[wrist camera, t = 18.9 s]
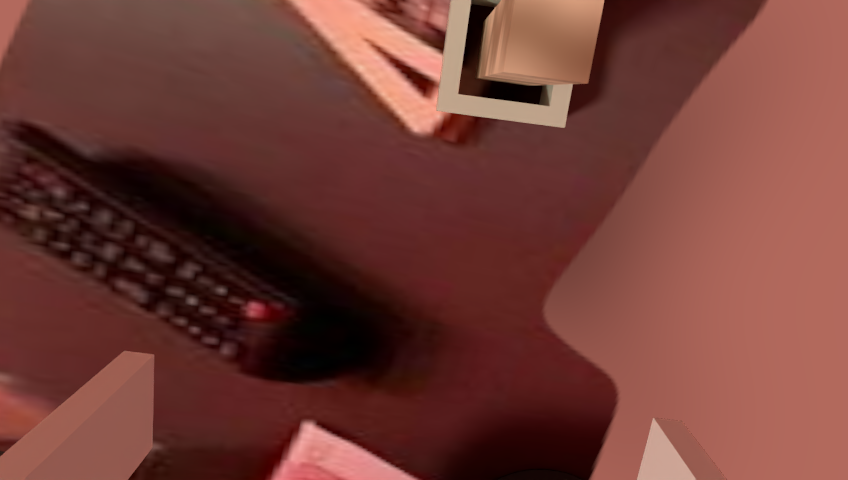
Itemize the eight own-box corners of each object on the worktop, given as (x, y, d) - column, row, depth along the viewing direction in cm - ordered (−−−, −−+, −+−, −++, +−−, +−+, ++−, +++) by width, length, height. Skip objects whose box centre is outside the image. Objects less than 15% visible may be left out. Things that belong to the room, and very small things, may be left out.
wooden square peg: (527, 85, 43) (587, 83, 27) (474, 78, 43) (503, 71, 27) (536, 29, 42) (606, -8, 26) (483, 22, 42) (518, -21, 26)
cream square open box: (552, 124, 44) (564, 127, 40) (436, 108, 44) (436, 110, 40) (575, -1, 42) (590, -11, 38) (452, -18, 41) (455, -30, 38)
